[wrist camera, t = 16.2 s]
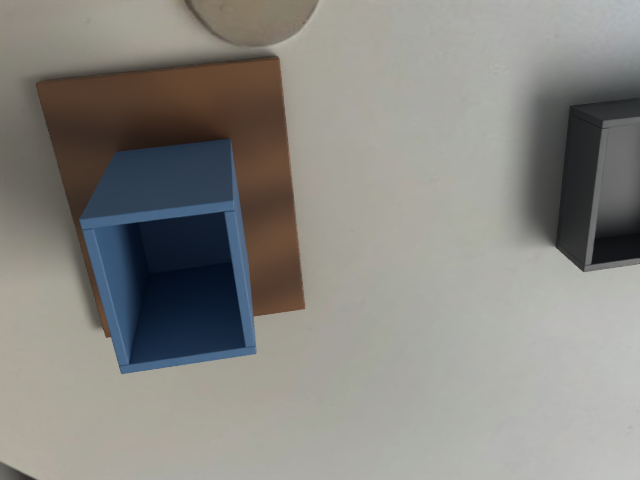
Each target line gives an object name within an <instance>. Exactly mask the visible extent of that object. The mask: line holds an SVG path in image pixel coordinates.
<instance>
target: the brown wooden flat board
mask: <svg viewBox="0 0 640 480" xmlns="http://www.w3.org/2000/svg"><path fill="white" fill-rule="evenodd" d="M36 87H37V91H38V95H39V98H40V102H41V105H42V109H43V113H44V116H45V120H46V123H47V127H48V131H49V134H50V138H51V141H52V145H53V149H54V152H55V156H56V159H57V163H58V167H59V170H60V174H61V177H62V181H63V185H64V188H65V192H66V195H67V199H68V203H69V206H70V210H71V214H72V217H73V221H74V224H75V228H76V232H77V235H78V239H79V242H80V246H81V250H82V253H83V257H84V260H85V264H86V268H87V271H88V275H89V278H90V282H91V286H92V289H93V293H94V296H95V300H96V304H97V307H98V311H99V314H100V318H101V322H102V325H103V329H104V333H105V336H106V338H107V337H111V335H110V331H109V327H108V324H107V320H106V316H105V313H104V309H103V305H102V302H101V298H100V294H99V290H98V287H97V283H96V279H95V276H94V272H93V268H92V265H91V261H90V257H89V254H88V250H87V246H86V243H85V239H84V235H83V232H82V228H81V225H80V221H79V219H80V217H81V215H82V214H83V212H84V210H85V208H86V206H87V204H88V202H89V200H90V199H91V197H92V195H93V193H94V191H95V189H96V187H97V186H98V184H99V182H100V180H101V178H102V176H103V174H104V172H105V171H106V169H107V167H108V165H109V163H110V161H111V159H112V157H113V156H114V154H115V152H119V151H128V150H137V149H145V148H154V147H163V146H172V145H180V144H189V143H198V142H206V141H215V140H224V139H231V145H232V152H233V158H234V165H235V172H236V179H237V186H238V193H239V200H240V207H241V214H242V221H243V228H244V234H245V241H246V248H247V255H248V262H249V273H250V284H251V296H252V307H253V316H260V315H267V314H274V313H281V312H287V311H294V310H301V309H305V302H304V292H303V282H302V273H301V263H300V253H299V243H298V234H297V224H296V214H295V205H294V195H293V185H292V176H291V166H290V156H289V146H288V137H287V127H286V117H285V108H284V98H283V88H282V79H281V69H280V59H279V57H278V56H275V57H266V58H256V59H246V60H236V61H227V62H217V63H207V64H198V65H188V66H178V67H168V68H159V69H149V70H139V71H130V72H120V73H110V74H101V75H91V76H81V77H71V78H62V79H52V80H42V81H39V82H37V83H36Z"/></svg>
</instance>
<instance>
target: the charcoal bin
mask: <svg viewBox="0 0 640 480" xmlns="http://www.w3.org/2000/svg"><path fill="white" fill-rule="evenodd" d="M556 248H557V249H558V250H559V251H560V252H561V253H562V254H564V255H565V256H566V257H567V258H568V259H569V260H570V261H572V262H573V263H574V264H575V265H576V266H577V267H578V268H580V269H581V270H582V271H583V272H587V271H594V270H601V269H608V268H615V267H622V266H629V265H636V264H640V98H635V99H627V100H618V101H610V102H601V103H593V104H584V105H575V106H570V113H569V123H568V133H567V142H566V152H565V162H564V172H563V182H562V191H561V201H560V211H559V221H558V231H557V240H556Z"/></svg>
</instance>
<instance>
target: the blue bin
mask: <svg viewBox="0 0 640 480" xmlns="http://www.w3.org/2000/svg"><path fill="white" fill-rule="evenodd" d="M79 221H80V225H81V228H82V232H83V235H84V239H85V243H86V246H87V250H88V254H89V257H90V261H91V265H92V268H93V272H94V276H95V279H96V283H97V287H98V290H99V294H100V298H101V302H102V305H103V309H104V313H105V316H106V320H107V324H108V327H109V331H110V335H111V338H112V342H113V346H114V349H115V353H116V357H117V360H118V364H119V368H120V371H121V374H125V373H132V372H139V371H145V370H152V369H159V368H165V367H172V366H179V365H185V364H192V363H198V362H205V361H212V360H218V359H225V358H232V357H238V356H245V355H252V354H256V342H255V330H254V319H253V307H252V296H251V284H250V273H249V262H248V255H247V248H246V241H245V234H244V228H243V221H242V214H241V207H240V200H239V193H238V186H237V179H236V172H235V165H234V158H233V152H232V145H231V139H224V140H215V141H206V142H198V143H189V144H180V145H172V146H163V147H154V148H145V149H137V150H128V151H119V152H115V154H114V156H113V157H112V159H111V161H110V163H109V165H108V167H107V169H106V171H105V172H104V174H103V176H102V178H101V180H100V182H99V184H98V186H97V187H96V189H95V191H94V193H93V195H92V197H91V199H90V200H89V202H88V204H87V206H86V208H85V210H84V212H83V214H82V215H81V217H80V219H79Z"/></svg>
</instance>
